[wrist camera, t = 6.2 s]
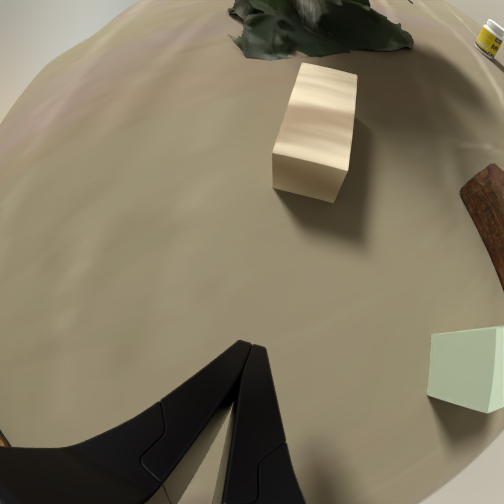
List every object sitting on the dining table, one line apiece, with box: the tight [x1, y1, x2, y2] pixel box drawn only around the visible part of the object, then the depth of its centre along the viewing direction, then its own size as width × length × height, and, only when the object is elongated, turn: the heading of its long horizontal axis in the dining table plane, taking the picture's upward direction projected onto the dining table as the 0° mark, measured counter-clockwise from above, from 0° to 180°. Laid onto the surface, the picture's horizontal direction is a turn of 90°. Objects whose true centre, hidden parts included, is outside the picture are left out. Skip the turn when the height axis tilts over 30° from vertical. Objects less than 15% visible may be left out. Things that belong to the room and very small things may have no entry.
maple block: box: [272, 63, 357, 203], centre depth 19 cm, size 4×4×10 cm
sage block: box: [427, 325, 504, 414], centre depth 12 cm, size 4×4×7 cm
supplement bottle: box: [475, 19, 504, 59], centre depth 23 cm, size 5×5×8 cm
